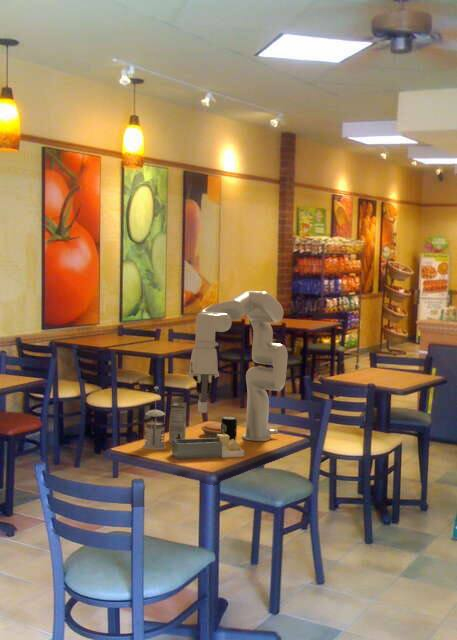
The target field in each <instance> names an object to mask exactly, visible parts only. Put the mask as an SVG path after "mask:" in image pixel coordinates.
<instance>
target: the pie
mask: <svg viewBox="0 0 457 640" xmlns="http://www.w3.org/2000/svg"><path fill="white" fill-rule="evenodd" d="M200 429H201V430H202V432H203V433H204V435H205V437H207V438H217V434H221V422H210V423H206V424H204V425H202V426H201V427H200Z"/></svg>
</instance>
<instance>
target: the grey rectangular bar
mask: <svg viewBox="0 0 457 640" xmlns="http://www.w3.org/2000/svg"><path fill="white" fill-rule="evenodd" d="M201 383H202V387H201V393H198V401H197V411H198V412H199V413H201V414H204V413H205V414H206V413H207V412H208V393H207V388H208V374H202V375H201Z"/></svg>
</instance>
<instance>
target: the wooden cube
mask: <svg viewBox="0 0 457 640" xmlns="http://www.w3.org/2000/svg"><path fill="white" fill-rule="evenodd" d="M226 447H227V449H228V451H239V450H240V449H242V448H241V447H240V445H239V443H238V441H237V439H236V440H234V439H231V440H230V441H229V446H226Z"/></svg>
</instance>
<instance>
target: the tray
mask: <svg viewBox="0 0 457 640" xmlns="http://www.w3.org/2000/svg"><path fill="white" fill-rule="evenodd" d="M221 458H222V459H231V458H245V450H244V449H242V448H241V449H240V450H239V451H228V449H227V447H226V446H222V457H221Z"/></svg>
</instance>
